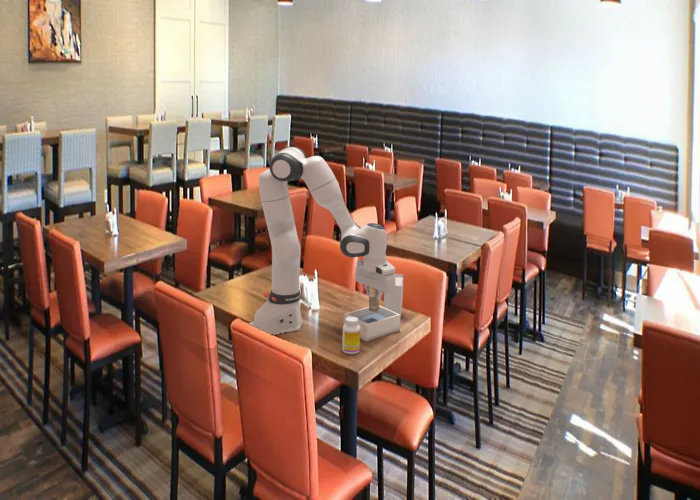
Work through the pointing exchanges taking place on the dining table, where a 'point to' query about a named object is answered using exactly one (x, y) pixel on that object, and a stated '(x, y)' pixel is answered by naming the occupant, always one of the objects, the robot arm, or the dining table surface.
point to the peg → (373, 299)
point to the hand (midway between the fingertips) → (373, 297)
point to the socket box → (375, 322)
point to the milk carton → (395, 296)
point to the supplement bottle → (351, 336)
